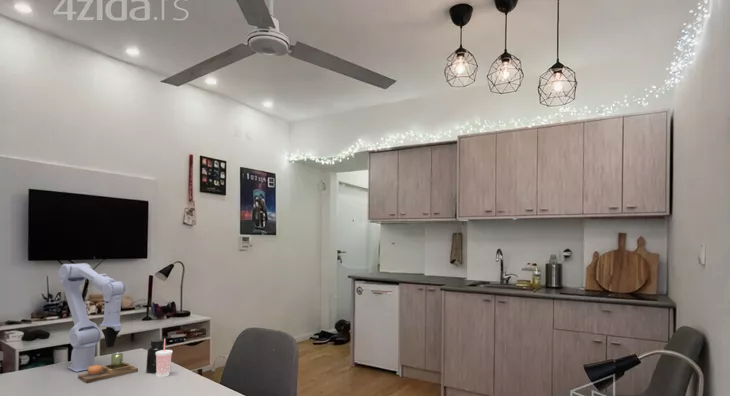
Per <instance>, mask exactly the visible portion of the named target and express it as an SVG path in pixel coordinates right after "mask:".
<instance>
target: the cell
mask: <svg viewBox="0 0 730 396" xmlns="http://www.w3.org/2000/svg"><path fill="white" fill-rule="evenodd" d="M110 357H111V359H110V365H111V369H116V368H121V367H122V363H123V362H124V361H123V360H124V353H122V352H120V351H117V352H115V353H112V354H111V356H110Z"/></svg>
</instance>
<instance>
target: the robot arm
mask: <svg viewBox="0 0 730 396" xmlns="http://www.w3.org/2000/svg"><path fill="white" fill-rule="evenodd" d="M57 273H58V277H59V280H60V281H59V282H60V284H61V286H62V287H63V291H64V295H65V297H66V301H67V305H68V308H69V311H70V314H71V318H72V321H73V325H74V326H73V327H71V329H70V330H69V332H68V333H69V343H70V345H71V347H72V350H71V354H70V355H71V356H70V366H67V369H69V370H71V371H74V372H75V373H78V372H83V371H88V367H89V366H93V365H95V359H96V358H95V355H96V346H97V345H98V342H100V340H101V338H102V334H103V337H104V341H105V345H106V348H114V345H115V343H116V339H117V337H118V335H119V333H120V331H122V324H121V309H122V308H121V307H122V295H124V294H125V292H126V284H125V283H124V282H123V281H122V280H118V281H116V280H115V279H114V278H111V277H109V276H108V274H107V273H98V272H97V271H96V270H94V269H93V268H92V267H91V265H90V264H88V263H87V262H84V263H83V262H82V263H63V264H61V266H60V268H59V269H58V272H57ZM86 280H88V281H91V282H92V286H94V287H95V288H96V289H99V291H101V294H102V295H103V301H104V308H103V321H101V323H100V324H99V326H98V325H97V322H93V321H91V320H90V317H89V315H88V312H87V308H86V305H85V302H84V298H83V296H82V292H81V289H80V286H81V285H83V284H85V281H86ZM99 327H101V328H102V327H106V328H102V329H101V330H100V328H99Z"/></svg>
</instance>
